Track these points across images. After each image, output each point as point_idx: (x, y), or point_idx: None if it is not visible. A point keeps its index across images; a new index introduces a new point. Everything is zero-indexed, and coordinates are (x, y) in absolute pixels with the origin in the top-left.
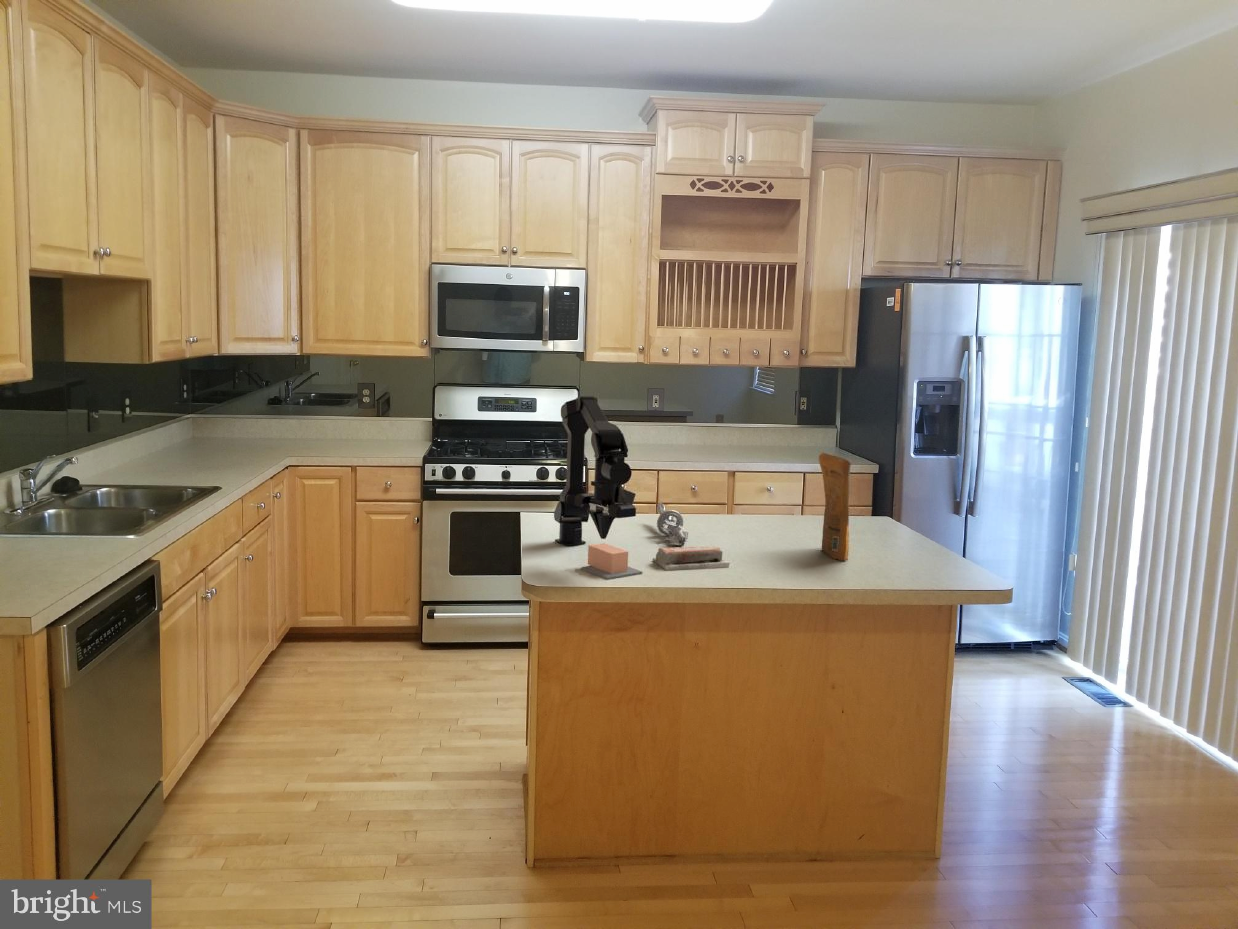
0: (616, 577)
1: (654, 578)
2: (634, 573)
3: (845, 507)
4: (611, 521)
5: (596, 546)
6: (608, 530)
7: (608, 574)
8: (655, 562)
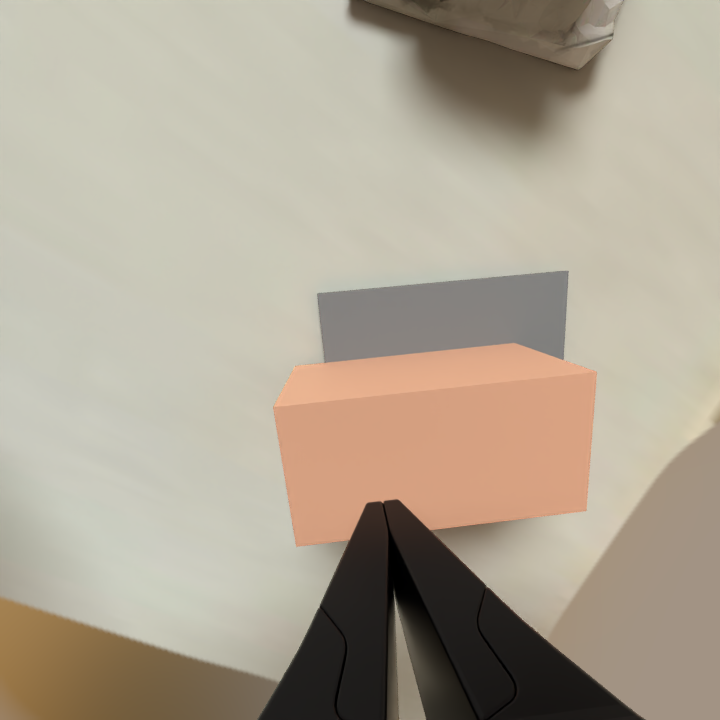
0: None
1: (662, 263)
2: (563, 329)
3: None
4: (576, 699)
5: (350, 510)
6: (448, 556)
7: None
8: (399, 12)
